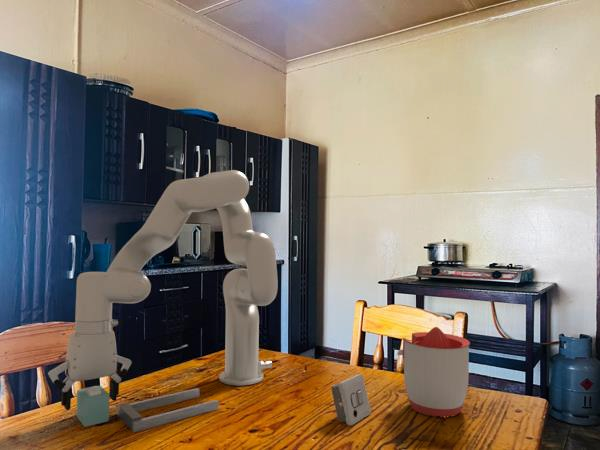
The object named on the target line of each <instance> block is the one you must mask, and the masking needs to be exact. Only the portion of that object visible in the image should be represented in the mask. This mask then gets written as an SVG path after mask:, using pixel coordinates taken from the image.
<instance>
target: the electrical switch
mask: <svg viewBox="0 0 600 450" xmlns="http://www.w3.org/2000/svg"><path fill="white" fill-rule="evenodd" d="M330 389H331V393H332V398H333V403H334V407H335V412H336V417H337V421H338V422H339V421H341V422H343V423H346V425H347V426H348V425H351V426H354V425H355V424H356V423H358V422H360V421H361V420H363V419H364V417H365V418H367V416H369V415H371V412H372V409H371V404H370V402H369V397H368V391H367V388H366V385H365V380H364V376H363V374H362V373H360V374H359V373H358V374H356V375H353V376H351V377H349V378H347V379H345V380H343V381H341V382H338V383H337V384H334V385H331V386H330ZM341 422H340V423H341Z"/></svg>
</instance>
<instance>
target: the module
mask: <svg viewBox="0 0 600 450" xmlns="http://www.w3.org/2000/svg"><path fill="white" fill-rule="evenodd" d="M76 417H77V419H78V421H80V423H81V424H82V426H83V427H89V426H95V425H98V424H102V423H107V422H109V421H110V419H109V418H110V397H109V392H107V391H106V389H104V388H103V387H102V386H101V385H94V386H90V387H85V388H81V389H77V390H76Z"/></svg>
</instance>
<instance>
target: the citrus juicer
mask: <svg viewBox="0 0 600 450" xmlns="http://www.w3.org/2000/svg"><path fill="white" fill-rule="evenodd" d="M470 345H471V342H470V341H469V340H468V339H466V338H464V337H462V336H458V335H455V334H450V333H444V332H443V331H442V329H440V328H439V327H438V326H434V327H433V328H431V329H430V330H429V331H426V332H424V331H422V332H412V334H411V340H409V339H407V338H406V337H403V338H402V349H399V350H398V351H397V354H396V355H397V356H402V359H403V377H404V378H403V379H404V385H405V390H406V394H407V398H408V402H409V404H410V407H411V408H412V409H413V410H414V409H415V410H416V411H415V410H414V411H415V412H418V413H420V414H422V413H423V414H422V415H426V416H430V415H431V417H436V416H440V417H439V418H442V417H444V416H445V417H447V416H451V417H454V416H453V415H455V416H457V415H456V414H458V413H459V412H461V411H462V409H463V407H464V405H465V400H466V397H467V393H468V388H469V375H470V374H469V367H470V366H469V364H470V362H469V360H470V358H469V357H470V356H469V353H470ZM459 414H460V413H459ZM459 414H458V415H459Z"/></svg>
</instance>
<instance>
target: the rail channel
mask: <svg viewBox="0 0 600 450" xmlns="http://www.w3.org/2000/svg"><path fill="white" fill-rule="evenodd" d="M197 398H200V388H199V387H196V388H192V389H185V390H184V391H178V392H174V393H170V394H165V395H161V396H156V397H151V398H147V399H144V400H143V399H142V400H139V401H135V402H130V403H123V404H120V405H117V416H118V417H119V418H120V419H121V420H122V421H123V423H125V425H126V426H128V428H129V429H130V430H131V431H132V432H133V433H136V432H141V431H145V430H148V429H152V428H154V427H158V426H163V425H166V424H169V423H173V422H176V421H181V420H184V419H188V418H191V417H192V418H193V417H196V416H199V415H203V414H206V413H209V412H213V411H217V410H219V401H218V400H217V399H215V400H211V401H205V402H202V403H198V404H195V405H190V406H186V407H183V408H179V409H174V410H172V411H171V410H170V411H168V412H167V411H166V412H163V413H159V414H155V415H151V416H147V417H143V416H142V415H141V414H140V413H139V412H142V411H147V410H151V409H155V408H160V407H164V406H168V405H172V404H177V403H179V402H180V403H181V402H185V401H187V400H188V401H189V400H191V399H192V400H193V399H197Z"/></svg>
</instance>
